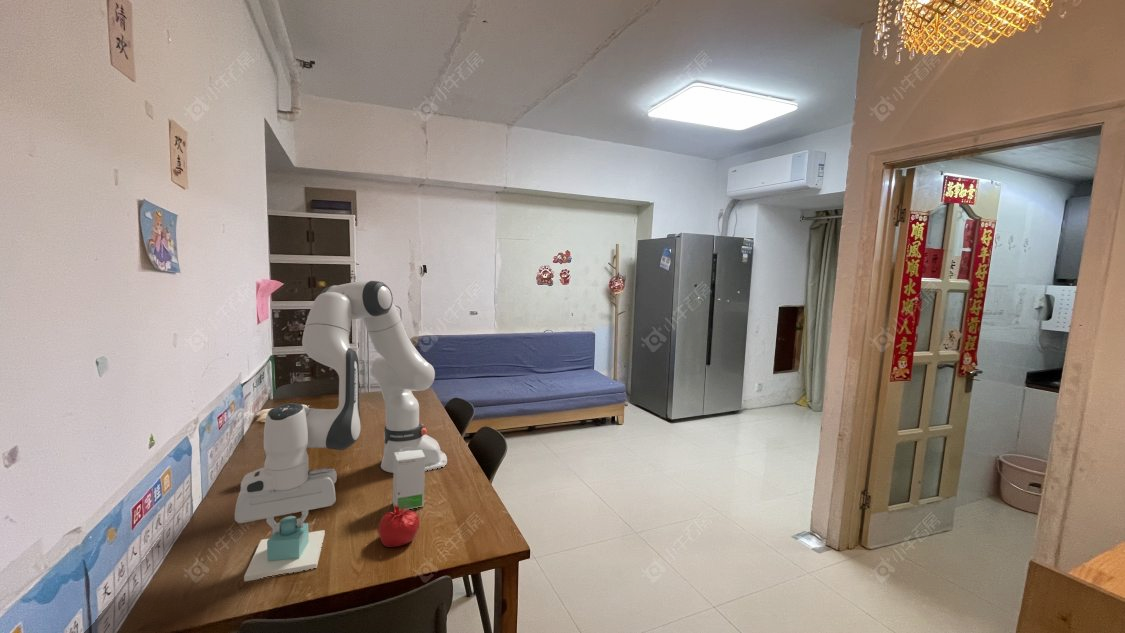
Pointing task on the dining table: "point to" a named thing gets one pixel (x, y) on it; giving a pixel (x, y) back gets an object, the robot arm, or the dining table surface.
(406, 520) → the pomegranate
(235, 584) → the dining table surface
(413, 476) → the skincare box
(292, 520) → the teal knobbed block
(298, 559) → the post stand
